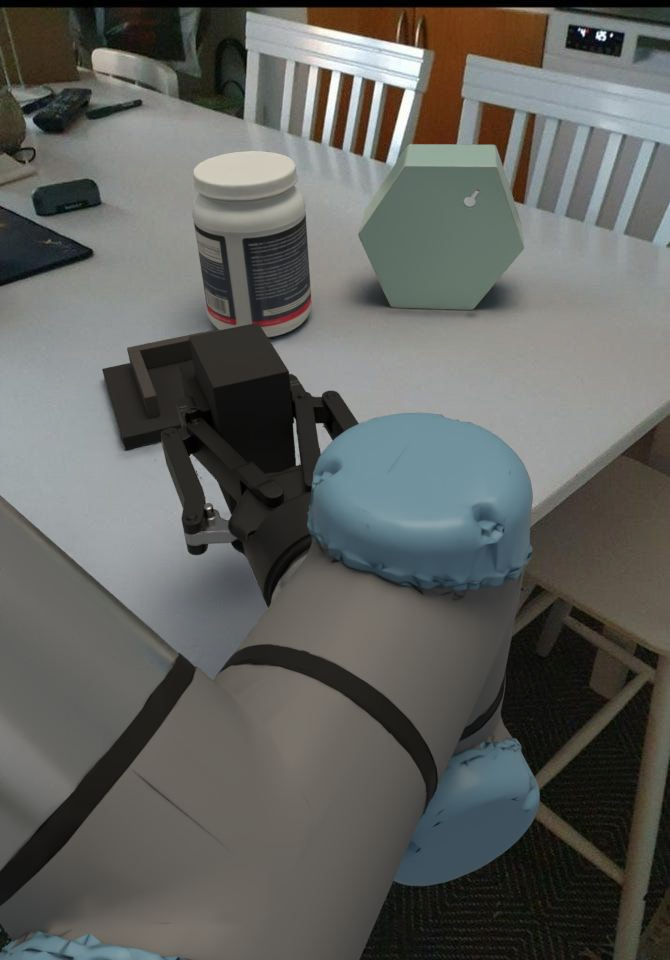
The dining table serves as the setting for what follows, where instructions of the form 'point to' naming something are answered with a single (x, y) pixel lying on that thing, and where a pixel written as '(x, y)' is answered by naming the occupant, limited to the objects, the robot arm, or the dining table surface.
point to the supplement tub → (252, 241)
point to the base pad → (149, 389)
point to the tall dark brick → (247, 396)
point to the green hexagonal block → (442, 227)
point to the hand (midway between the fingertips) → (224, 371)
